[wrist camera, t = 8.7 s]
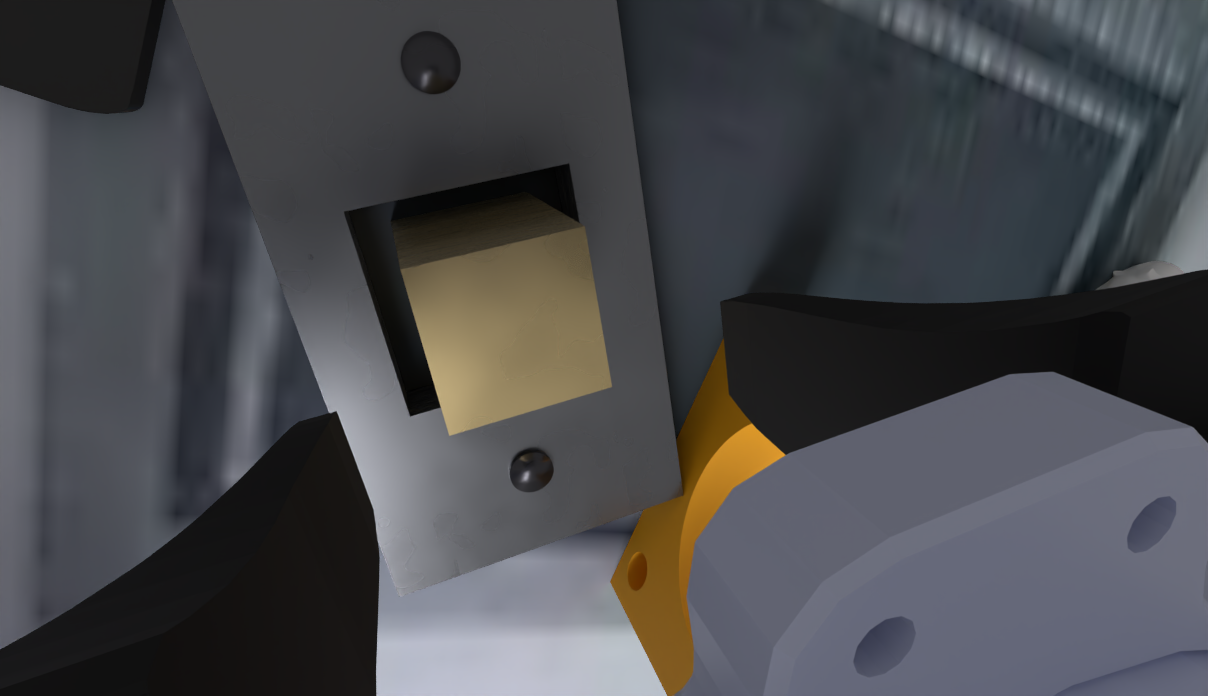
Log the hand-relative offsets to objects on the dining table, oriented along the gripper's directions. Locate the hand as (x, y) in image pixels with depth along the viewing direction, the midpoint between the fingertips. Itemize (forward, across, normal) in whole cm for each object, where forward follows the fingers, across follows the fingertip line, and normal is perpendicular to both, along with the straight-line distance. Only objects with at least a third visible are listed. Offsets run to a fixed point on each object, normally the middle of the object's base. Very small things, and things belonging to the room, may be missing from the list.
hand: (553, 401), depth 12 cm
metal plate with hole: (+9, 0, 0) cm, 9 cm away
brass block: (+9, 0, 0) cm, 9 cm away
